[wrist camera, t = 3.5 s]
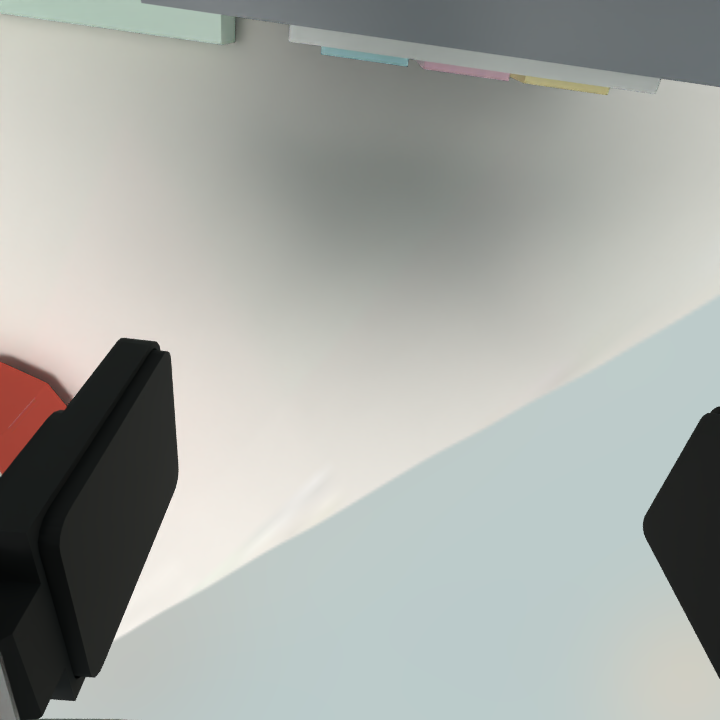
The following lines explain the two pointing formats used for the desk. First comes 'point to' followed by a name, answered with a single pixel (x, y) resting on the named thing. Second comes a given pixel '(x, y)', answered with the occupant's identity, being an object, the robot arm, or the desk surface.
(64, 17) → the tray
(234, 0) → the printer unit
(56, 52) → the desk surface
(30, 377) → the beverage can
